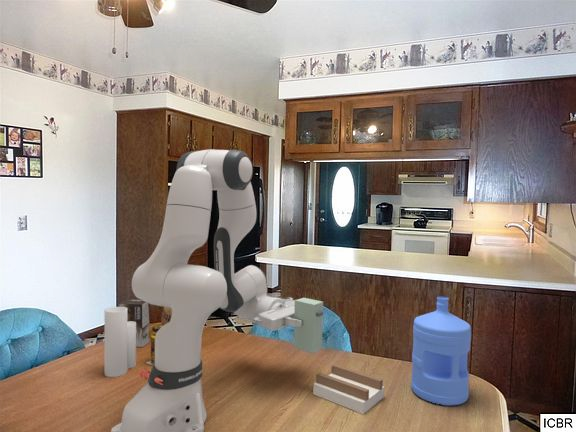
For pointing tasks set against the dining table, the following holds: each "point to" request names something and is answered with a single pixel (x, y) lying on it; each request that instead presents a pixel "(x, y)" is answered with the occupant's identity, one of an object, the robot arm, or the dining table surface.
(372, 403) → the cleat board
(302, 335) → the sage cabinet
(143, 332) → the coffee box
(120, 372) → the vase
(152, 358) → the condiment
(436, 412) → the dining table surface
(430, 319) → the water jug
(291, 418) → the dining table surface
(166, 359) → the robot arm
